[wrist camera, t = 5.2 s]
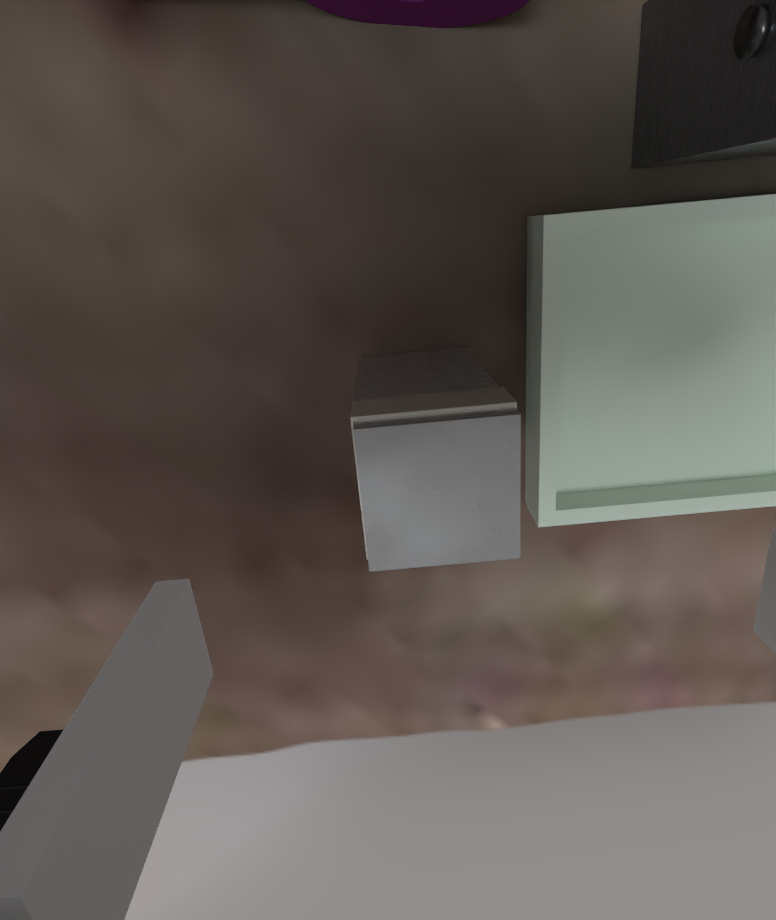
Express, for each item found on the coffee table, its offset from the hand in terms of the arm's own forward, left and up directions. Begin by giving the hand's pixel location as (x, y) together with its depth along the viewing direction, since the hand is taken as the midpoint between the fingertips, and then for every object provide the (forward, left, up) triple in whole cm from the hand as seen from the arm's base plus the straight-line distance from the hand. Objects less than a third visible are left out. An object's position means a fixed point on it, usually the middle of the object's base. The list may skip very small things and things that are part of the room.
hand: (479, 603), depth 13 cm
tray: (+12, +1, -15) cm, 19 cm away
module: (0, 0, -15) cm, 15 cm away
